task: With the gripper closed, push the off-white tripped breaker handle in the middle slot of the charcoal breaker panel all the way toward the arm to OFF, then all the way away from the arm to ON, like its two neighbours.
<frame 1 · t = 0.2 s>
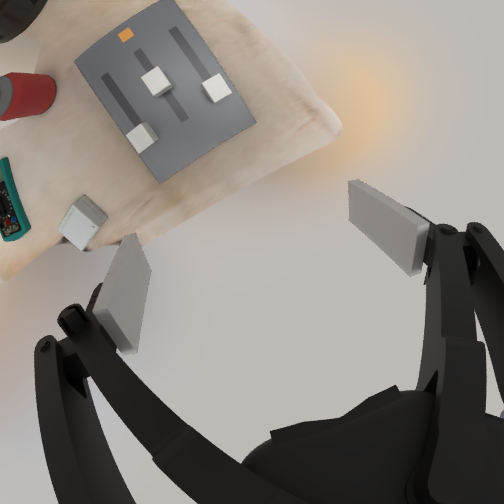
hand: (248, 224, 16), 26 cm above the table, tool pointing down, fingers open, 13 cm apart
breaker panel: (162, 85, 31), on the table
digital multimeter: (8, 197, 33), on the table
breaker handle: (157, 82, 27), point 5 cm above the table, slide at 5.0 cm
beer can: (41, 94, 27), on the table
small box: (87, 216, 39), on the table
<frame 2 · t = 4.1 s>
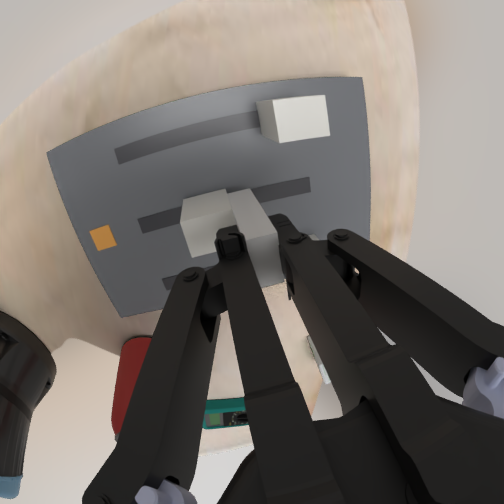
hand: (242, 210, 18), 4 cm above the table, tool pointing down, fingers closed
breaker panel: (221, 193, 22), on the table
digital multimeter: (242, 403, 39), on the table
breaker handle: (209, 220, 17), point 5 cm above the table, slide at 3.8 cm, touching gripper
beer can: (148, 351, 29), on the table
small box: (329, 338, 34), on the table
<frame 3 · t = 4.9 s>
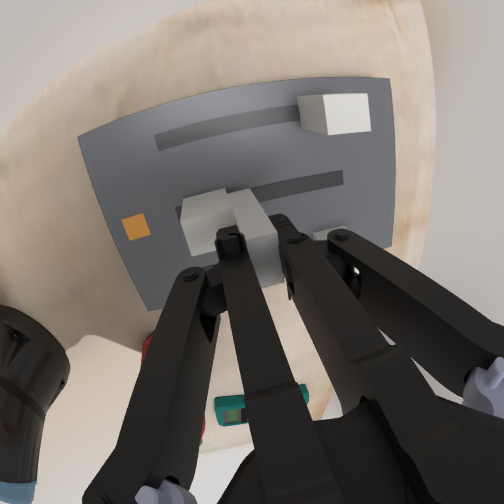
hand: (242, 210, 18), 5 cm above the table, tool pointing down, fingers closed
breaker panel: (257, 184, 22), on the table
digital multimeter: (259, 399, 40), on the table
breaker handle: (209, 219, 17), point 5 cm above the table, slide at 0.8 cm, touching gripper
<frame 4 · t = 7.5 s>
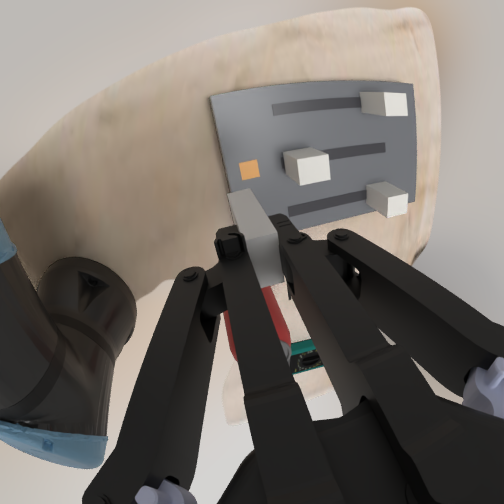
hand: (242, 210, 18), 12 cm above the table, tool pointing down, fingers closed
breaker panel: (328, 149, 29), on the table
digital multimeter: (304, 349, 47), on the table
breaker handle: (306, 164, 24), point 5 cm above the table, slide at 0.2 cm
beer can: (244, 288, 36), on the table
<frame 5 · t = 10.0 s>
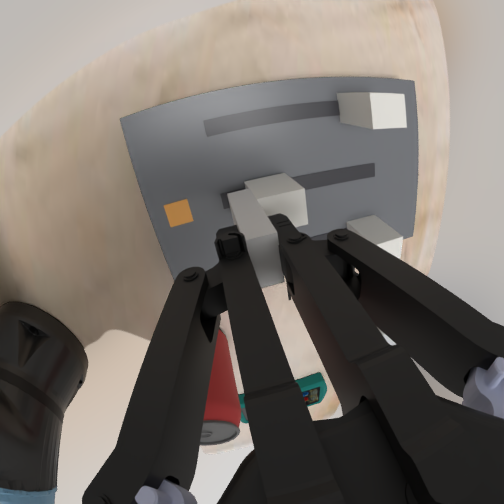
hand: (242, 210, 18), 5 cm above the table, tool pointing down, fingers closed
breaker panel: (294, 174, 22), on the table
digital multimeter: (277, 392, 40), on the table
breaker handle: (274, 201, 18), point 5 cm above the table, slide at 1.8 cm, touching gripper
beer can: (198, 339, 30), on the table
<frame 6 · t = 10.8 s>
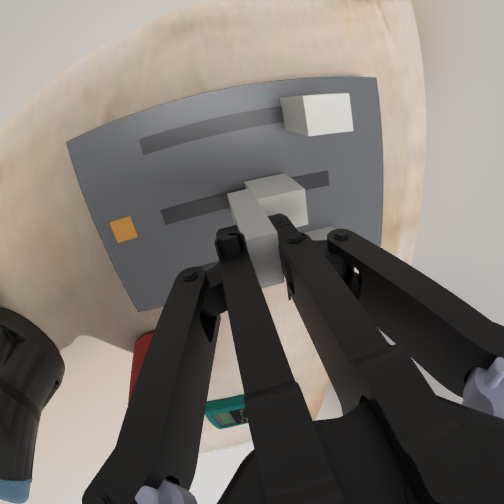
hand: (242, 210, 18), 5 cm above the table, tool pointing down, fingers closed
breaker panel: (242, 186, 22), on the table
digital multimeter: (250, 399, 40), on the table
breaker handle: (274, 201, 18), point 5 cm above the table, slide at 6.4 cm, touching gripper
beer can: (162, 347, 30), on the table
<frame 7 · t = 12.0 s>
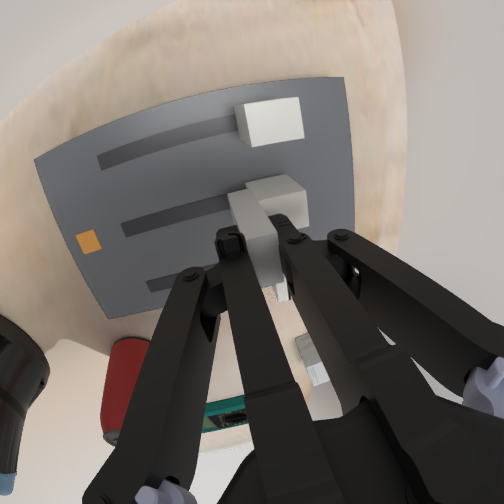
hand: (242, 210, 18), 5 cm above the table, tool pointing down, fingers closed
breaker panel: (203, 196, 22), on the table
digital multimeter: (230, 404, 39), on the table
breaker handle: (275, 202, 18), point 5 cm above the table, slide at 9.7 cm, touching gripper
beer can: (137, 352, 29), on the table
small box: (317, 340, 34), on the table
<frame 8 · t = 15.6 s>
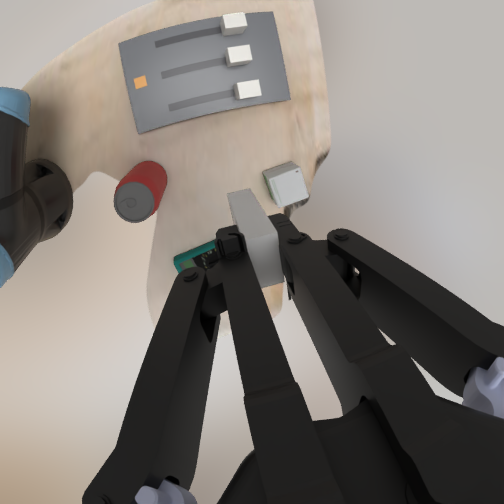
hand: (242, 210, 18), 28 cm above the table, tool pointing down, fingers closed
breaker panel: (204, 67, 35), on the table
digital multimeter: (214, 255, 52), on the table
breaker handle: (237, 56, 31), point 5 cm above the table, slide at 9.7 cm
beer can: (148, 178, 42), on the table
small box: (281, 179, 47), on the table
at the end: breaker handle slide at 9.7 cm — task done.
